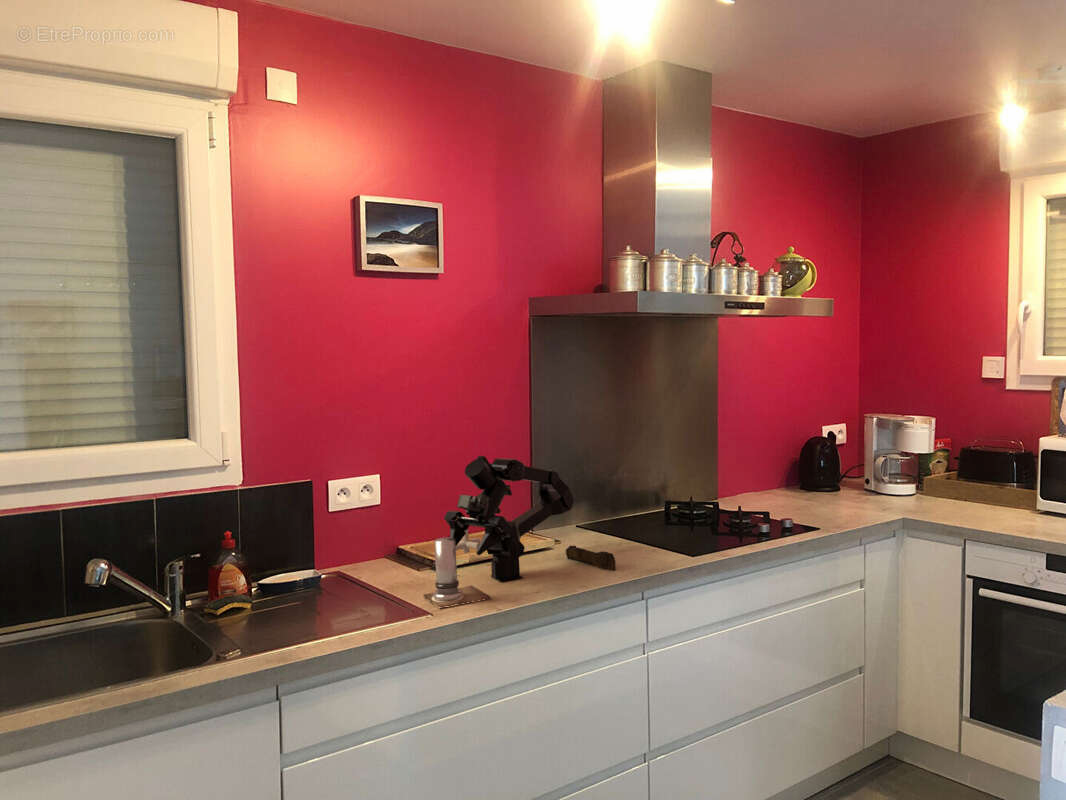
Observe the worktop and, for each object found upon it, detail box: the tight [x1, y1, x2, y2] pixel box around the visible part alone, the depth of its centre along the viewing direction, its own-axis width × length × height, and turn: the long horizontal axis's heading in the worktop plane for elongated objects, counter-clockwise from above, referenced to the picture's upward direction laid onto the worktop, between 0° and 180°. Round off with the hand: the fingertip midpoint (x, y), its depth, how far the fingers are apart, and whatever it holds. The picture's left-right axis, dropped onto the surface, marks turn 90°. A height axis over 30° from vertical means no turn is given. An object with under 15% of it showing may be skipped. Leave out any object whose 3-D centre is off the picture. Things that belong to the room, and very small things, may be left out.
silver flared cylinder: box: [432, 537, 462, 601], centre depth 207 cm, size 7×7×14 cm
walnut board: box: [422, 585, 491, 607], centre depth 209 cm, size 13×11×1 cm
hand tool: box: [565, 545, 617, 571], centre depth 235 cm, size 19×4×5 cm, turn 33°
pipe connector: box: [456, 528, 481, 554], centre depth 243 cm, size 10×10×10 cm
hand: (463, 552), depth 212 cm, fingers open, 9 cm apart
